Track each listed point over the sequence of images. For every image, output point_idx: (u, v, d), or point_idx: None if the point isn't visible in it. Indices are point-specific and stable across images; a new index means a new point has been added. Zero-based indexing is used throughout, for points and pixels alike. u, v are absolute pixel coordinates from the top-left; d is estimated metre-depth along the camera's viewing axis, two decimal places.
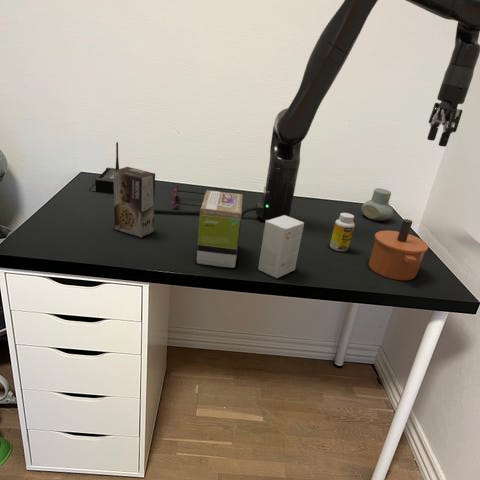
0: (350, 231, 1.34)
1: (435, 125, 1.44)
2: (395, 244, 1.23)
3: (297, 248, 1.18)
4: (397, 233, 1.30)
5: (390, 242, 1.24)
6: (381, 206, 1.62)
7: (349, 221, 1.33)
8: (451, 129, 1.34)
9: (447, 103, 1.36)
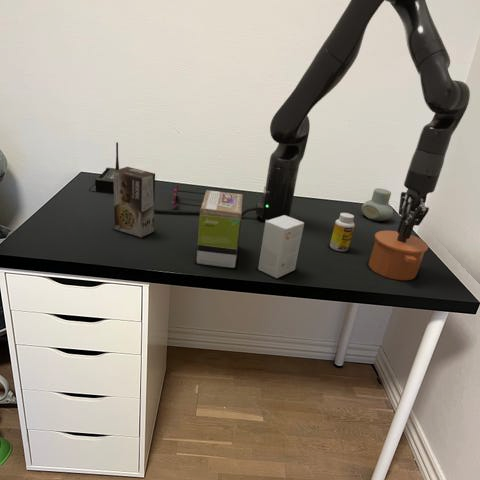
0: (350, 231, 1.34)
1: (406, 218, 1.24)
2: (395, 244, 1.23)
3: (297, 248, 1.18)
4: (397, 233, 1.30)
5: (390, 242, 1.23)
6: (381, 206, 1.62)
7: (349, 221, 1.33)
8: (414, 223, 1.19)
9: (415, 191, 1.18)
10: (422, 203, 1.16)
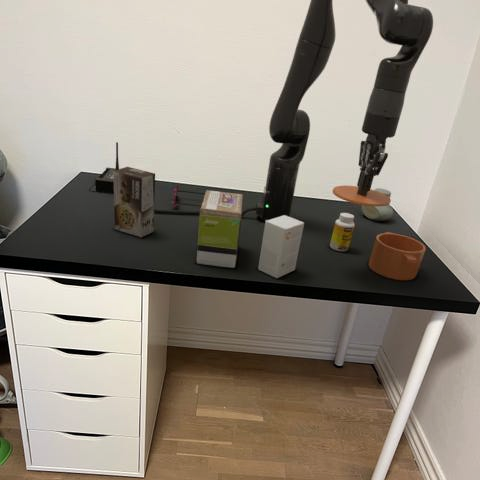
0: (350, 231, 1.34)
1: None
2: (353, 197, 1.11)
3: (297, 248, 1.18)
4: None
5: (348, 195, 1.12)
6: (381, 206, 1.62)
7: (349, 221, 1.33)
8: (373, 172, 1.08)
9: (373, 136, 1.06)
10: (381, 149, 1.04)
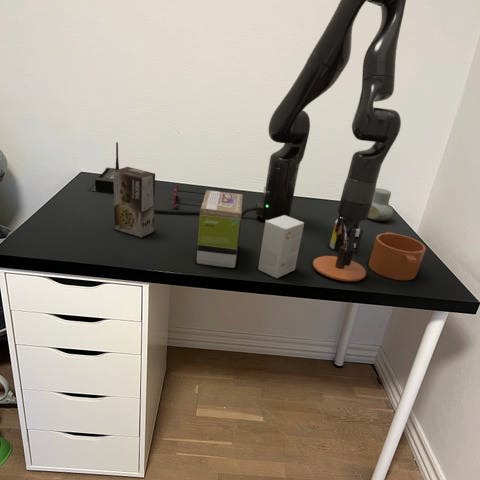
0: None
1: (341, 236, 1.24)
2: (331, 271, 1.21)
3: (297, 248, 1.18)
4: None
5: (327, 269, 1.22)
6: (381, 206, 1.62)
7: None
8: (352, 250, 1.14)
9: (348, 218, 1.16)
10: (355, 227, 1.14)
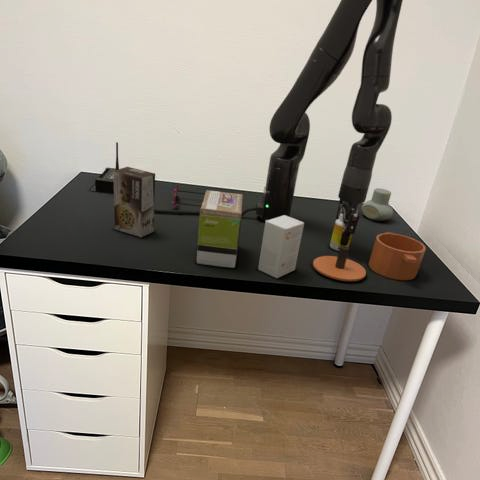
0: None
1: None
2: (331, 271, 1.21)
3: (297, 248, 1.18)
4: None
5: (327, 269, 1.22)
6: (381, 206, 1.62)
7: None
8: (349, 231, 1.30)
9: (347, 202, 1.30)
10: (353, 211, 1.28)
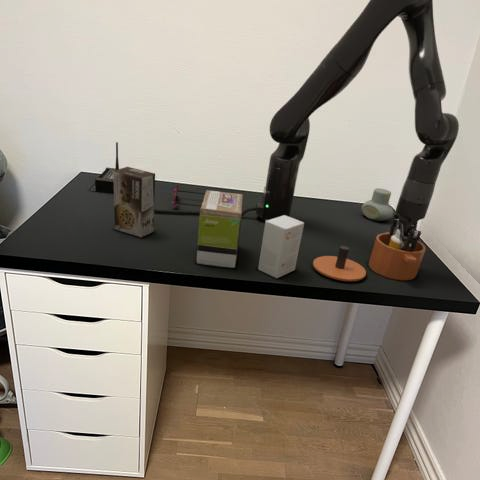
0: None
1: None
2: (331, 271, 1.21)
3: (297, 248, 1.18)
4: None
5: (327, 269, 1.22)
6: (381, 206, 1.62)
7: None
8: (408, 249, 1.21)
9: (406, 217, 1.21)
10: (414, 228, 1.19)
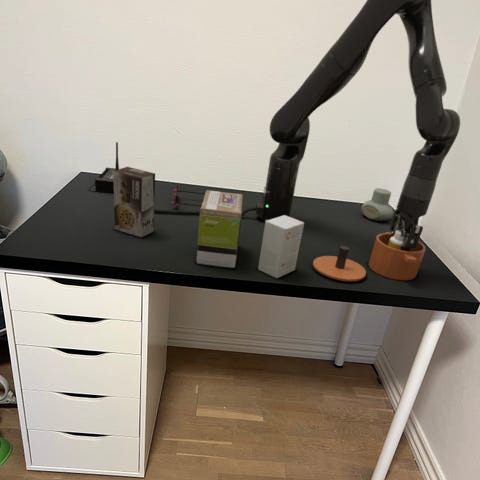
0: None
1: None
2: (331, 271, 1.21)
3: (297, 248, 1.18)
4: None
5: (327, 269, 1.22)
6: (381, 206, 1.62)
7: (406, 239, 1.24)
8: (410, 245, 1.20)
9: (407, 214, 1.21)
10: (415, 223, 1.19)
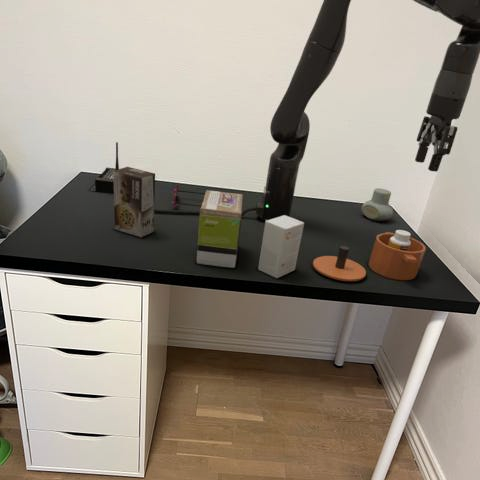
0: (406, 249, 1.25)
1: (424, 144, 1.17)
2: (331, 271, 1.21)
3: (297, 248, 1.18)
4: None
5: (327, 269, 1.22)
6: (381, 206, 1.62)
7: (406, 239, 1.24)
8: (443, 151, 1.07)
9: (439, 118, 1.09)
10: (448, 125, 1.07)
